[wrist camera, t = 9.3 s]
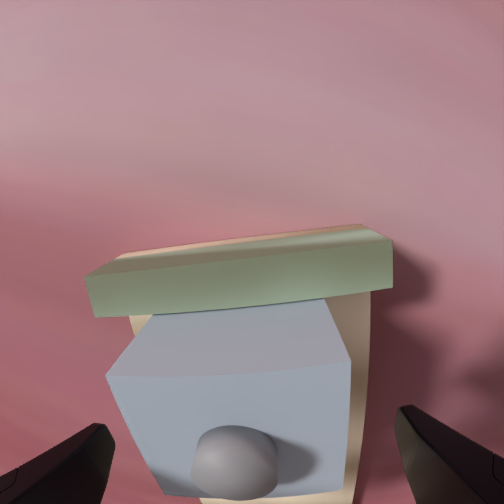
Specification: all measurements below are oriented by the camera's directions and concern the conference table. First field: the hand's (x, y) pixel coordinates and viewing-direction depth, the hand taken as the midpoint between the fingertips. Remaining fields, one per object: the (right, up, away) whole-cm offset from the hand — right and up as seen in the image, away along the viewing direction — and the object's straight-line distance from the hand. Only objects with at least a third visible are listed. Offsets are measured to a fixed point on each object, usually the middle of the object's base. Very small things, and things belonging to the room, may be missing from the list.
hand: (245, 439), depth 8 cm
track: (+1, -7, +8) cm, 10 cm away
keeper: (0, +2, +5) cm, 5 cm away
